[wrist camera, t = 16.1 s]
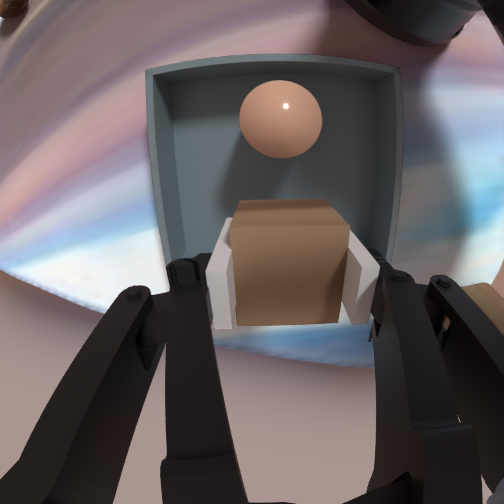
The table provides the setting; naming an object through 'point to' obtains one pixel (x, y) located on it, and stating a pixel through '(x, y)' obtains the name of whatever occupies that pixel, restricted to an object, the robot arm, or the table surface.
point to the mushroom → (11, 7)
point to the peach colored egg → (280, 119)
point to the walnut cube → (288, 261)
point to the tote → (265, 167)
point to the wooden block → (486, 303)
